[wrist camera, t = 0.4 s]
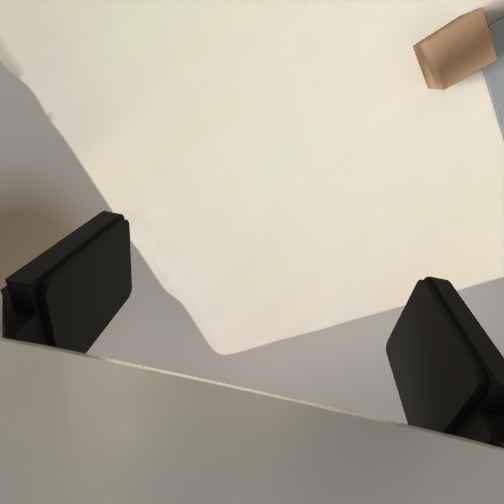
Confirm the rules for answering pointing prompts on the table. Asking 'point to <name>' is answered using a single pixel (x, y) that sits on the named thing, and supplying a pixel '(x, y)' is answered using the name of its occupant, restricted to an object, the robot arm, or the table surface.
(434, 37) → the walnut block
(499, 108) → the slate mat
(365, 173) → the table surface
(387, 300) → the table surface
